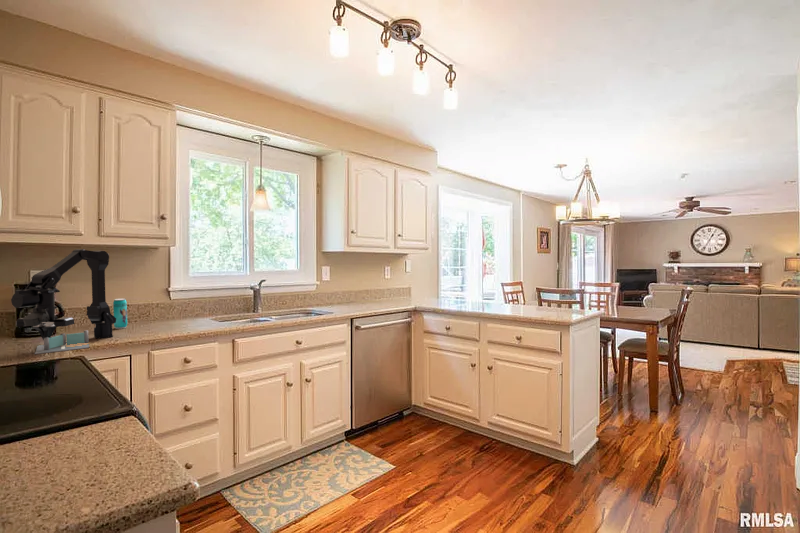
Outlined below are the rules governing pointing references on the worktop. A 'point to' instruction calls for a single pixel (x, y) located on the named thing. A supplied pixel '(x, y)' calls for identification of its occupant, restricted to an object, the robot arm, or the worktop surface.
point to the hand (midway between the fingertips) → (46, 342)
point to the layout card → (58, 348)
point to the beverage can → (120, 313)
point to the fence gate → (54, 341)
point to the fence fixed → (77, 338)
